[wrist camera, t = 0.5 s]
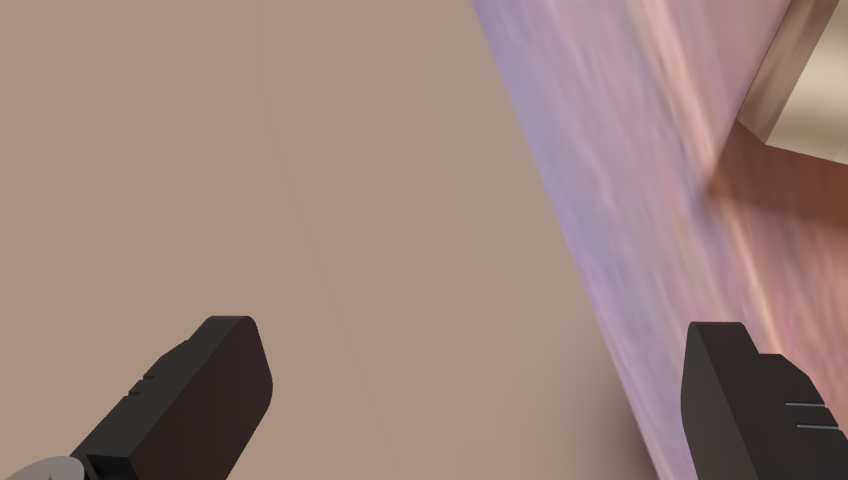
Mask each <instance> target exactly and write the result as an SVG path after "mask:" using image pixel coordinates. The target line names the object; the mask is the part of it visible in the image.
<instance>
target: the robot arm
mask: <svg viewBox="0 0 848 480" xmlns="http://www.w3.org/2000/svg"><path fill="white" fill-rule="evenodd" d="M272 390H273V383H272V377H271V373H270V369H269V366H268V363H267V359H266V356H265V353H264V349H263V346H262V342H261V339H260V336H259V333H258V329H257V326H256V323H255V322H254V320H253V319H252V318H251V317H249V316H211V317H209V318H208V319H207V320H205V321H204V323H203V324H202V325H201V326H200V327H199V328H198V330H196V332H195V333H194V334H193V335H192V336H191V337H190V338H189V339H188V340H185V341H184V342H182V343H181V344H179V345H178V346H176V347H175V348H173V349H172V350H170V351H169V352H168V353H166V354H164V355H163V356H161V357H160V358H159V359H158V360H157V362H156V363H155V364H154V365H153V366H152V367H151V368H150V369H149V370H148V371H147V372H146V374H144V376H143V380H139V381H138V382H137V383H136V384H135V385H134V386H133V388H132V389H131V390H130V391H129V394H128V396H124V397H123V398H122V399H121V400H120V402H119V403H118V404H117V405H116V406H115V407H114V408H113V409H112V410H111V411H110V412H109V414H108V415H107V416H106V417H105V418H104V419H103V420H102V421H101V422H100V423H99V424H98V425H97V426H96V428H95V429H94V430H93V431H92V432H91V433H90V434H89V435H88V436H87V437H86V438H85V439H84V441H83V442H82V443H81V444H80V445H79V446H78V447H77V448H76V449H75V450H74V451H73V452H72V454H71V455H70V456H58V457H52V458H47V459H44V460H41V461H38V462H35V463H33V464H31V465H29V466H27V467H25V468H23V469H21V470H19V471H18V472H16V473H14V474H13V475H11V476H10V477H8V478H7V479H6V480H226V479H227V477H228V475H229V474H230V472H231V470H232V469H233V467H234V465H235V463H236V462H237V460H238V458H239V457H240V455H241V453H242V452H243V450H244V448H245V447H246V445H247V443H248V442H249V440H250V438H251V436H252V435H253V433H254V431H255V430H256V428H257V426H258V425H259V423H260V421H261V420H262V418H263V416H264V414H265V413H266V411H267V409H268V407H269V405H270V401H271V397H272ZM681 415H682V422H683V427H684V431H685V435H686V438H687V442H688V445H689V449H690V452H691V456H692V459H693V463H694V466H695V469H696V473H697V476H698V480H848V440H847V438H846V437H845V435H844V433H843V432H842V431H839V429H838V424H837V422H836V420H835V419H834V417H833V415H832V414H831V412H830V410H829V409H828V408H825V402H824V401H823V399H822V397H821V396H820V394H819V393H818V391H817V389H816V388H815V386H814V384H813V383H812V381H811V380H810V378H809V376H807V375H806V374H805V373H804V372H802V371H801V370H800V369H799V368H797V367H796V366H795V365H793V364H792V363H791V362H790V361H788V360H787V359H786V358H785V357H783V356H782V355H781V354H759V352H758V351H757V349H756V347H755V345H754V343H753V341H752V339H751V337H750V335H749V334H748V332H747V330H746V328H745V326H744V325H743V324H742V323H741V322H691V323H690V325H689V328H688V333H687V341H686V351H685V360H684V369H683V378H682V387H681Z"/></svg>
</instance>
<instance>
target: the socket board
mask: <svg viewBox="0 0 848 480" xmlns="http://www.w3.org/2000/svg"><path fill="white" fill-rule="evenodd" d="M736 119H737V120H738V121H739V122H740V123H741V124H742V125H744V126H745V127H746V128H747V129H748V130H749V131H750V132H752V133H753V134H754V135H755V136H756V137H757V138H758V139H760V140H761V141H762V142H763V143H764V144H766V145H770V146H774V147H778V148H782V149H786V150H790V151H794V152H798V153H802V154H806V155H810V156H814V157H818V158H823V159H827V160H831V161H835V162H839V163H843V164H847V165H848V0H792V2H791V5H790V7H789V9H788V11H787V13H786V15H785V17H784V19H783V21H782V23H781V25H780V27H779V30H778V32H777V34H776V36H775V38H774V40H773V42H772V44H771V46H770V48H769V50H768V52H767V55H766V57H765V59H764V61H763V63H762V65H761V67H760V69H759V71H758V73H757V75H756V78H755V80H754V82H753V84H752V86H751V88H750V90H749V92H748V94H747V96H746V98H745V100H744V103H743V105H742V107H741V109H740V111H739V113H738V115H737V117H736Z"/></svg>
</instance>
